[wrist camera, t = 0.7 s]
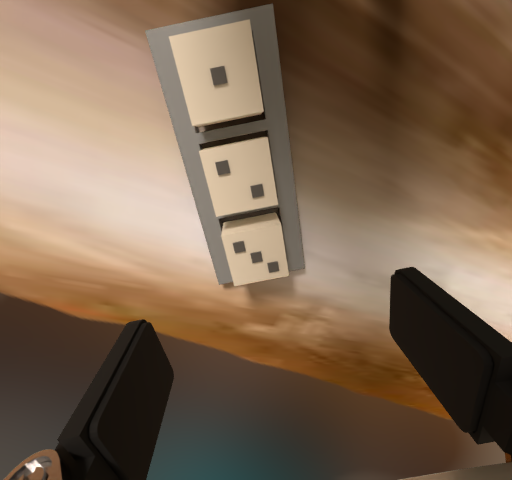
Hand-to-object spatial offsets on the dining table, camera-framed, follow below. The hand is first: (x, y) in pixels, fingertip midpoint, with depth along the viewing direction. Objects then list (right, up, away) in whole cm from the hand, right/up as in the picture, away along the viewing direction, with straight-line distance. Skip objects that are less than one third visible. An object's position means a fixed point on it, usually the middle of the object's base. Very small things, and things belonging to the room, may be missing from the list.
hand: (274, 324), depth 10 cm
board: (-2, +11, +18) cm, 21 cm away
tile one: (-4, +18, +13) cm, 22 cm away
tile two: (-2, +10, +16) cm, 20 cm away
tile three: (-1, +3, +20) cm, 20 cm away
